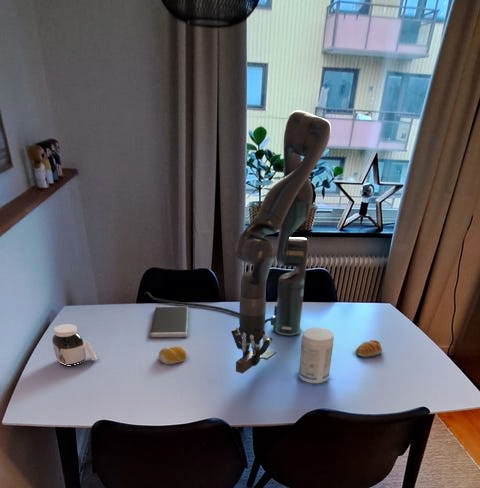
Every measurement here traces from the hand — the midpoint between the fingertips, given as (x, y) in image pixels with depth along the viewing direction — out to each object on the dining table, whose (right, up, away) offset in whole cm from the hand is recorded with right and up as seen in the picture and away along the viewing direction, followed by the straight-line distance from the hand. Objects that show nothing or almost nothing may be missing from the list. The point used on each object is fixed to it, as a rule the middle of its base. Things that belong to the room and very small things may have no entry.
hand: (250, 363), depth 147 cm
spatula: (+1, +1, +2) cm, 3 cm away
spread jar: (-56, +2, +9) cm, 57 cm away
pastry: (+41, +6, +18) cm, 46 cm away
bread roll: (-26, +3, +12) cm, 28 cm away
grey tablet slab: (-30, +21, +36) cm, 51 cm away
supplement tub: (+20, -4, +3) cm, 21 cm away
